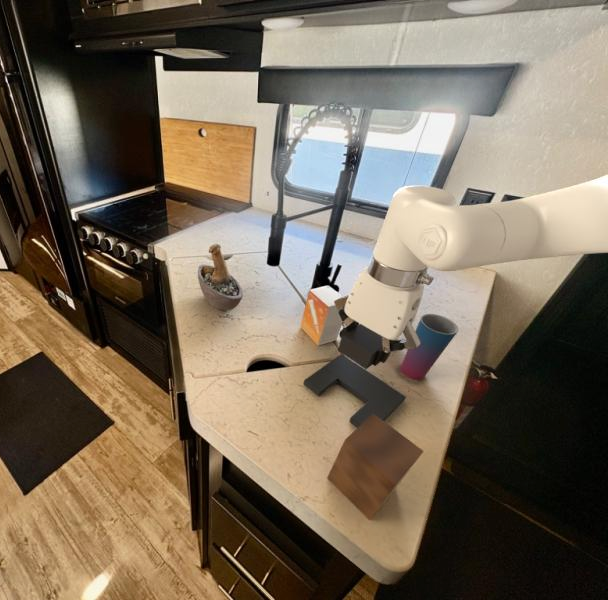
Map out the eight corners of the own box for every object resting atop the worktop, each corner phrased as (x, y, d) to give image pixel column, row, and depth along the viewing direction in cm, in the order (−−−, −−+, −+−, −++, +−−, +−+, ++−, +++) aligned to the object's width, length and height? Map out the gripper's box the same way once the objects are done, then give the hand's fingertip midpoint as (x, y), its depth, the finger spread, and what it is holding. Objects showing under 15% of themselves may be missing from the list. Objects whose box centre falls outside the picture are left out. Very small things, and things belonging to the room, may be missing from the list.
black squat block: (383, 355, 59) (391, 340, 57) (366, 369, 56) (373, 354, 54) (355, 338, 63) (361, 322, 60) (337, 350, 60) (342, 335, 58)
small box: (299, 327, 87) (308, 289, 80) (318, 322, 89) (328, 284, 82) (317, 346, 81) (328, 306, 74) (337, 340, 83) (350, 301, 76)
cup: (435, 378, 73) (466, 329, 64) (414, 386, 71) (443, 337, 62) (410, 358, 78) (435, 311, 69) (389, 365, 76) (413, 317, 67)
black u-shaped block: (403, 401, 67) (406, 396, 67) (368, 436, 61) (370, 432, 60) (339, 358, 78) (341, 353, 77) (303, 384, 71) (304, 379, 70)
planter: (201, 286, 105) (200, 230, 93) (249, 295, 101) (255, 238, 89) (184, 311, 94) (181, 251, 82) (238, 322, 89) (243, 261, 78)
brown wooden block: (395, 488, 53) (423, 450, 46) (369, 520, 49) (396, 484, 42) (353, 451, 58) (373, 413, 51) (327, 477, 54) (344, 440, 47)
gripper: (466, 286, 45) (417, 370, 55) (358, 244, 56) (334, 320, 67) (443, 304, 41) (395, 391, 52) (333, 255, 53) (311, 334, 63)
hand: (361, 350), depth 59 cm, fingers closed on black squat block, 6 cm apart
